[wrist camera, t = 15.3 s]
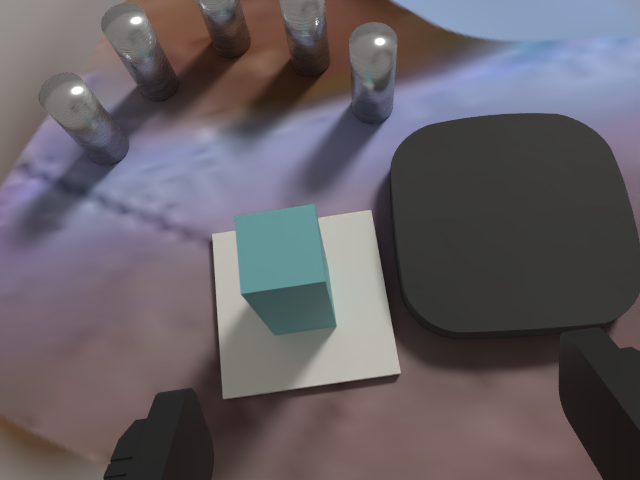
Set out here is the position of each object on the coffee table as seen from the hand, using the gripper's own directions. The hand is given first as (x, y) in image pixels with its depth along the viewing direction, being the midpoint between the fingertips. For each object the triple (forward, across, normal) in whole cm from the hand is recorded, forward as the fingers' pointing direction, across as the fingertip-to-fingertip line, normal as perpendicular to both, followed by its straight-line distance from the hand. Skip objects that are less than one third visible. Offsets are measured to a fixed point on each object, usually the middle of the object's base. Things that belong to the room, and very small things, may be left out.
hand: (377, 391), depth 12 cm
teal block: (+21, +4, +10) cm, 24 cm away
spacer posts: (+35, +7, -2) cm, 35 cm away
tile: (+22, +4, +10) cm, 24 cm away
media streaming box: (+24, -10, +9) cm, 28 cm away
